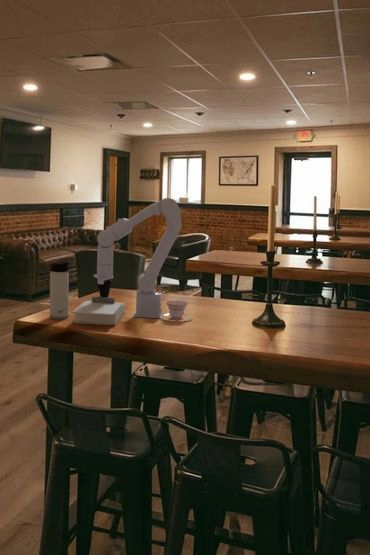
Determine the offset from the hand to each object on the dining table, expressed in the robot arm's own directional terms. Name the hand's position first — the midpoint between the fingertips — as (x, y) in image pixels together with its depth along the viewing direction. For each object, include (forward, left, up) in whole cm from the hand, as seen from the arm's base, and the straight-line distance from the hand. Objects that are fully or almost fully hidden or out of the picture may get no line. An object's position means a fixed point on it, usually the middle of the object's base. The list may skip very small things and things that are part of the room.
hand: (104, 300), depth 194 cm
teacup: (-26, -1, -6) cm, 27 cm away
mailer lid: (0, +9, -1) cm, 9 cm away
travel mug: (+14, +9, -6) cm, 17 cm away
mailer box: (0, +6, -5) cm, 8 cm away
